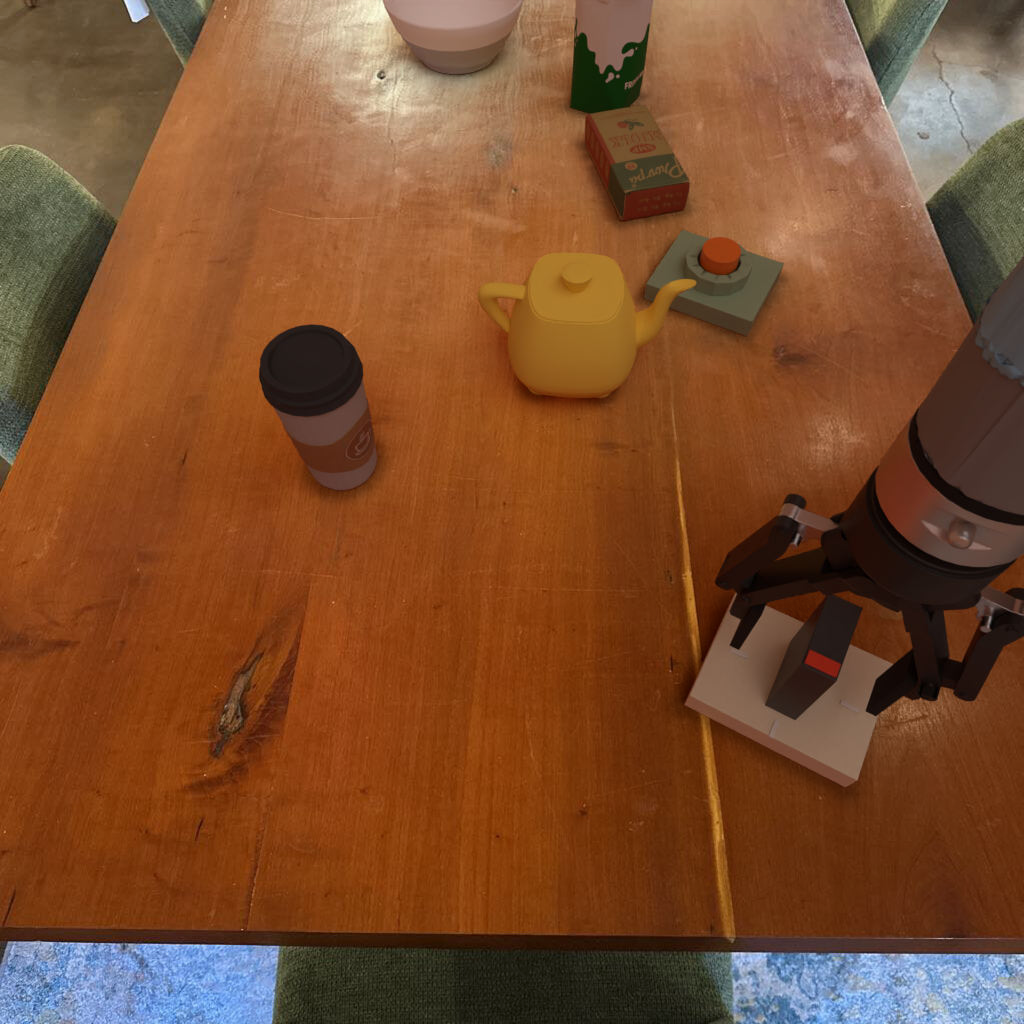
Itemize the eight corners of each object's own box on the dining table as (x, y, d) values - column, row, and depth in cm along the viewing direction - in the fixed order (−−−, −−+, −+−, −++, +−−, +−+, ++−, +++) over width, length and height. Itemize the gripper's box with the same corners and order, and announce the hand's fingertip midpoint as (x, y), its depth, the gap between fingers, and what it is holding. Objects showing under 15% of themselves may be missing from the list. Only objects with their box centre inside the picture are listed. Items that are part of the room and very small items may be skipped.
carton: (643, 134, 100) (648, 102, 96) (686, 211, 92) (693, 180, 88) (582, 144, 99) (584, 112, 95) (620, 223, 91) (624, 191, 87)
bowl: (383, 92, 106) (373, 29, 99) (399, 19, 116) (391, -43, 109) (523, 92, 105) (523, 29, 98) (527, 19, 115) (527, -44, 108)
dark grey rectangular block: (790, 640, 61) (829, 590, 53) (820, 654, 60) (864, 606, 52) (764, 705, 58) (801, 663, 50) (795, 720, 57) (837, 680, 49)
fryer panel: (882, 673, 62) (895, 662, 59) (845, 789, 57) (858, 781, 55) (729, 603, 65) (737, 589, 63) (683, 706, 61) (689, 695, 58)
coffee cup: (355, 515, 70) (316, 413, 58) (283, 479, 73) (230, 374, 60) (404, 450, 74) (378, 341, 61) (335, 418, 76) (295, 306, 63)
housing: (778, 278, 85) (788, 249, 82) (747, 336, 81) (756, 308, 77) (678, 244, 89) (684, 215, 85) (643, 299, 84) (648, 270, 81)
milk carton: (590, 77, 107) (601, -94, 90) (649, 94, 104) (672, -78, 87) (560, 109, 103) (566, -63, 86) (621, 128, 100) (640, -46, 83)
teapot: (676, 421, 75) (701, 330, 65) (475, 410, 76) (467, 319, 66) (673, 322, 82) (694, 226, 72) (489, 313, 83) (483, 217, 73)
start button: (742, 257, 82) (746, 244, 80) (729, 280, 80) (733, 267, 79) (707, 245, 83) (711, 232, 81) (693, 267, 81) (696, 254, 80)
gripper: (705, 470, 38) (647, 637, 57) (1197, 678, 32) (948, 787, 51) (758, 370, 42) (686, 560, 61) (1212, 541, 36) (973, 692, 55)
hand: (806, 664), depth 56 cm, fingers open, 9 cm apart
